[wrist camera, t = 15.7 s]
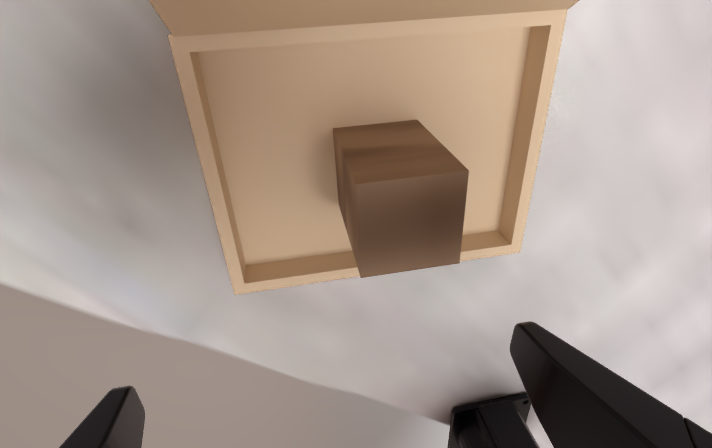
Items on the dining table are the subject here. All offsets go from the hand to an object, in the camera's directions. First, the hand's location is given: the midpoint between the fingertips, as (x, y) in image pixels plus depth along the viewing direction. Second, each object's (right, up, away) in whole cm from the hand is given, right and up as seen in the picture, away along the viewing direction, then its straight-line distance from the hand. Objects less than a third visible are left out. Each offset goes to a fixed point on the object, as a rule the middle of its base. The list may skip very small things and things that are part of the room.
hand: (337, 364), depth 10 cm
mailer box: (+1, +7, +11) cm, 13 cm away
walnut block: (+1, +6, +11) cm, 12 cm away
